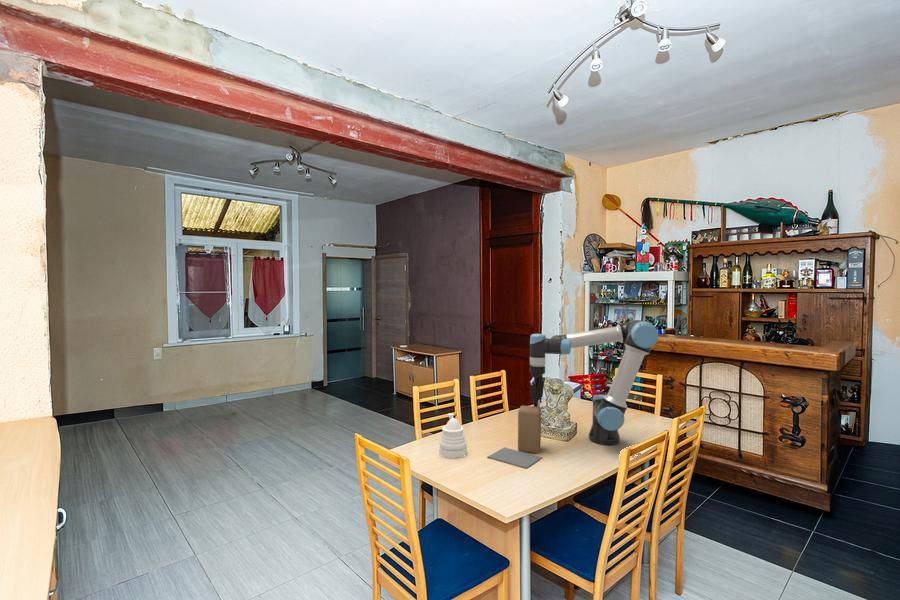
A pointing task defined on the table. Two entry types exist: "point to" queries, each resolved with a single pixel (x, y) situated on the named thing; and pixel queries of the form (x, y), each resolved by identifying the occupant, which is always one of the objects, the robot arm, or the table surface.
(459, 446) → the honey pot
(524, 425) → the wooden block
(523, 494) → the table surface
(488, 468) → the table surface
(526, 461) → the mat
